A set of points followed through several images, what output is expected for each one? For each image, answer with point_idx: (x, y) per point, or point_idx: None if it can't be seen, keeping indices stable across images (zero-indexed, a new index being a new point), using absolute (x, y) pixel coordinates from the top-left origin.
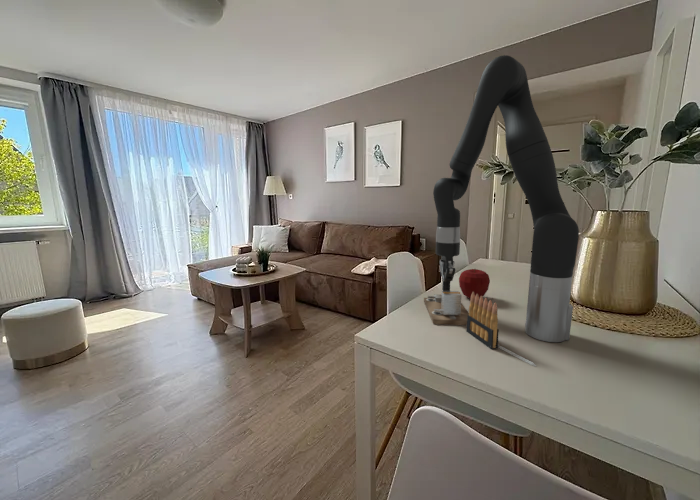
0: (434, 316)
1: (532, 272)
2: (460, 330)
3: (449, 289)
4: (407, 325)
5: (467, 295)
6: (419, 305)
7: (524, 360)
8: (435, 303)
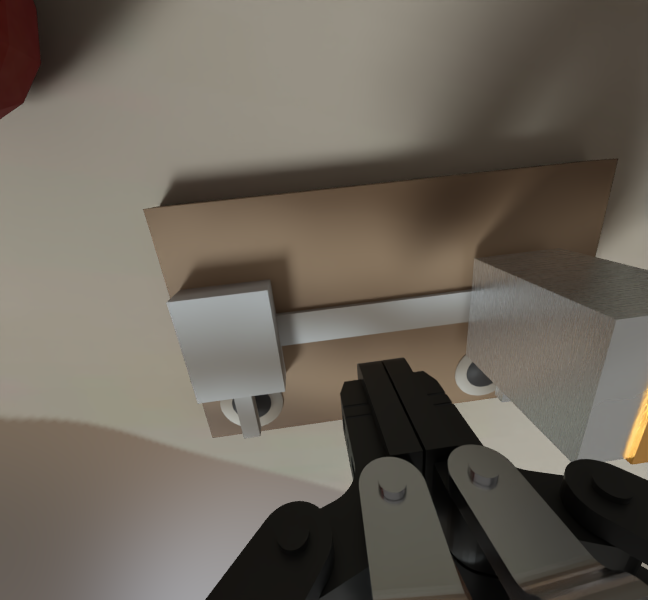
0: None
1: None
2: (632, 253)
3: (410, 372)
4: (545, 460)
5: (25, 89)
6: (293, 434)
7: None
8: (315, 375)
